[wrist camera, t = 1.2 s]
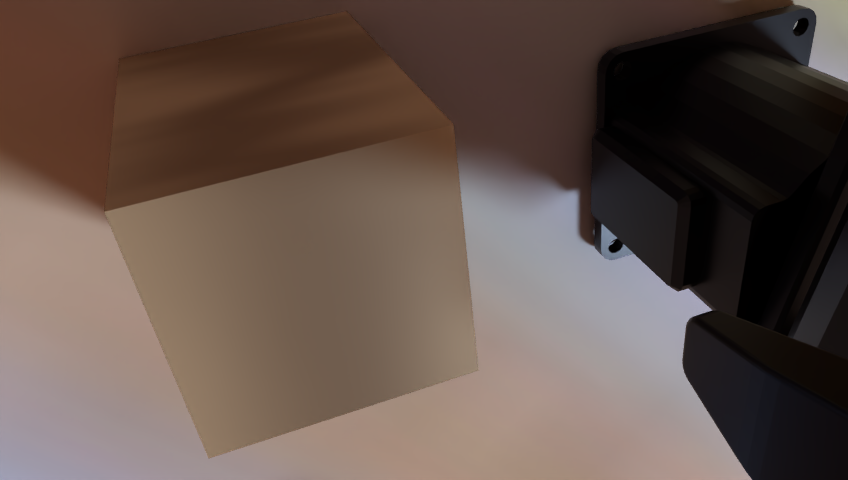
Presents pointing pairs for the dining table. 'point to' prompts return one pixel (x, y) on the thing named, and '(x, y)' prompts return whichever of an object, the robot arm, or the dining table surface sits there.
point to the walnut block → (290, 226)
